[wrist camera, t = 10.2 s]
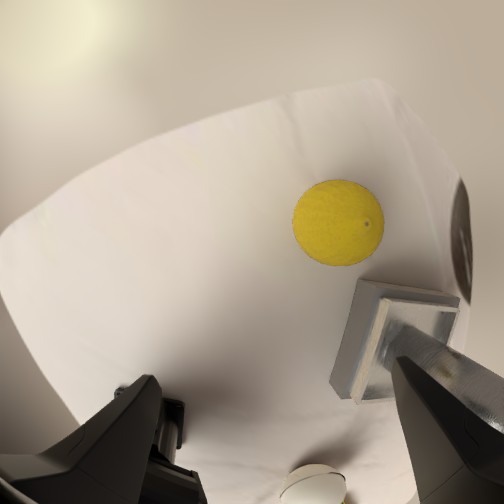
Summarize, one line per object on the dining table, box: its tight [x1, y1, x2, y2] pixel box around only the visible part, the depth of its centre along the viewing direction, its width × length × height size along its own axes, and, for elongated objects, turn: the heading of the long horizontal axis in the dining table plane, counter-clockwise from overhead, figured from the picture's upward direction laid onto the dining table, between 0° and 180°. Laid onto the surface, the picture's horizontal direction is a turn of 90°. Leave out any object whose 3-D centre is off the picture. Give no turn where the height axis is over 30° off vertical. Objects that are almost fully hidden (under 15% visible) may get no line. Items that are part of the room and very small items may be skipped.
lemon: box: [293, 180, 384, 266], centre depth 18 cm, size 6×6×8 cm
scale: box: [329, 279, 460, 405], centre depth 22 cm, size 10×11×5 cm
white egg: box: [280, 464, 346, 504], centre depth 21 cm, size 10×7×7 cm
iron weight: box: [384, 327, 504, 434], centre depth 13 cm, size 4×4×14 cm
